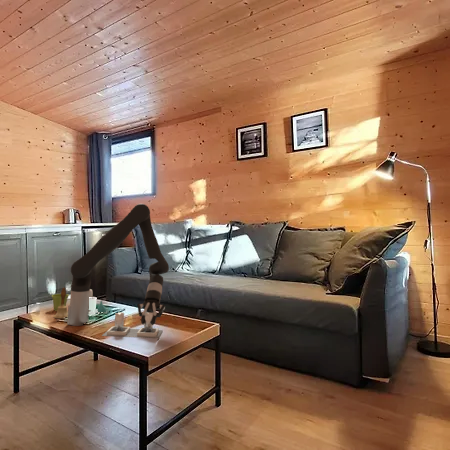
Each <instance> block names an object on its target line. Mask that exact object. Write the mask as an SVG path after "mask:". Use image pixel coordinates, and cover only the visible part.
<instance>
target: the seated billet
mask: <svg viewBox="0 0 450 450" xmlns="http://www.w3.org/2000/svg"><path fill="white" fill-rule="evenodd" d="M114 316H115V318H114V326H115V330H114V331H122V332H123V327H124V324H125V323H124V322H125V320H124V319H125V313H124V312H122V311H121V312H120V311H119V312H118V313H115V315H114Z"/></svg>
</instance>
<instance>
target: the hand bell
mask: <svg viewBox="0 0 450 450" xmlns="http://www.w3.org/2000/svg"><path fill="white" fill-rule="evenodd" d="M60 294H61V299H62V300H61V306H59V307H58V310H57V311H56V313H55V315H53V318H54V319H64V318H63V317H67V316H68V306H67V305H66V306H64V300H65V296H66V294H67V289H66V287H62V288H61V292H60Z"/></svg>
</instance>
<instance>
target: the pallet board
mask: <svg viewBox="0 0 450 450" xmlns="http://www.w3.org/2000/svg"><path fill="white" fill-rule="evenodd" d="M114 330H115V325H114V326H113V325H112V326H111V327H110V328H109V329H107V330H106V331H105V332H103V334H102V335H101V337H114V338H115V337H119V338H139V339H140V338H142V339H157V341H159V340H160V338H161V336H162V334H163V333H164V332H163V331H164V330H163V329H160V328H157V327H153V330H152V332H144V327H141V328H131V326H123V332H122V331H114Z"/></svg>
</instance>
